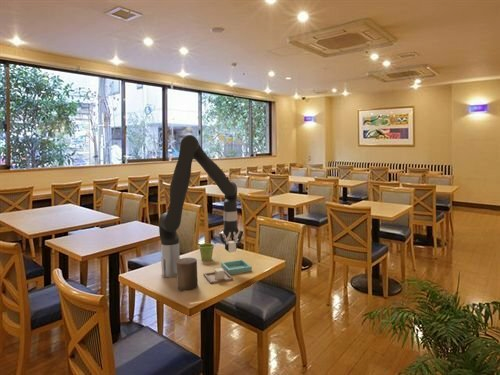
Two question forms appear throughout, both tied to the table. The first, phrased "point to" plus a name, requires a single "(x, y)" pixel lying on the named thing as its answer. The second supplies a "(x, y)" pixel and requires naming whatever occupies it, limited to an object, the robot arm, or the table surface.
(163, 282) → the table surface
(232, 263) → the dish
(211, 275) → the tray
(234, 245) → the stone
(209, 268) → the table surface
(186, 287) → the pillar candle
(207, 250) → the plant pot
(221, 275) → the stone
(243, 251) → the table surface
